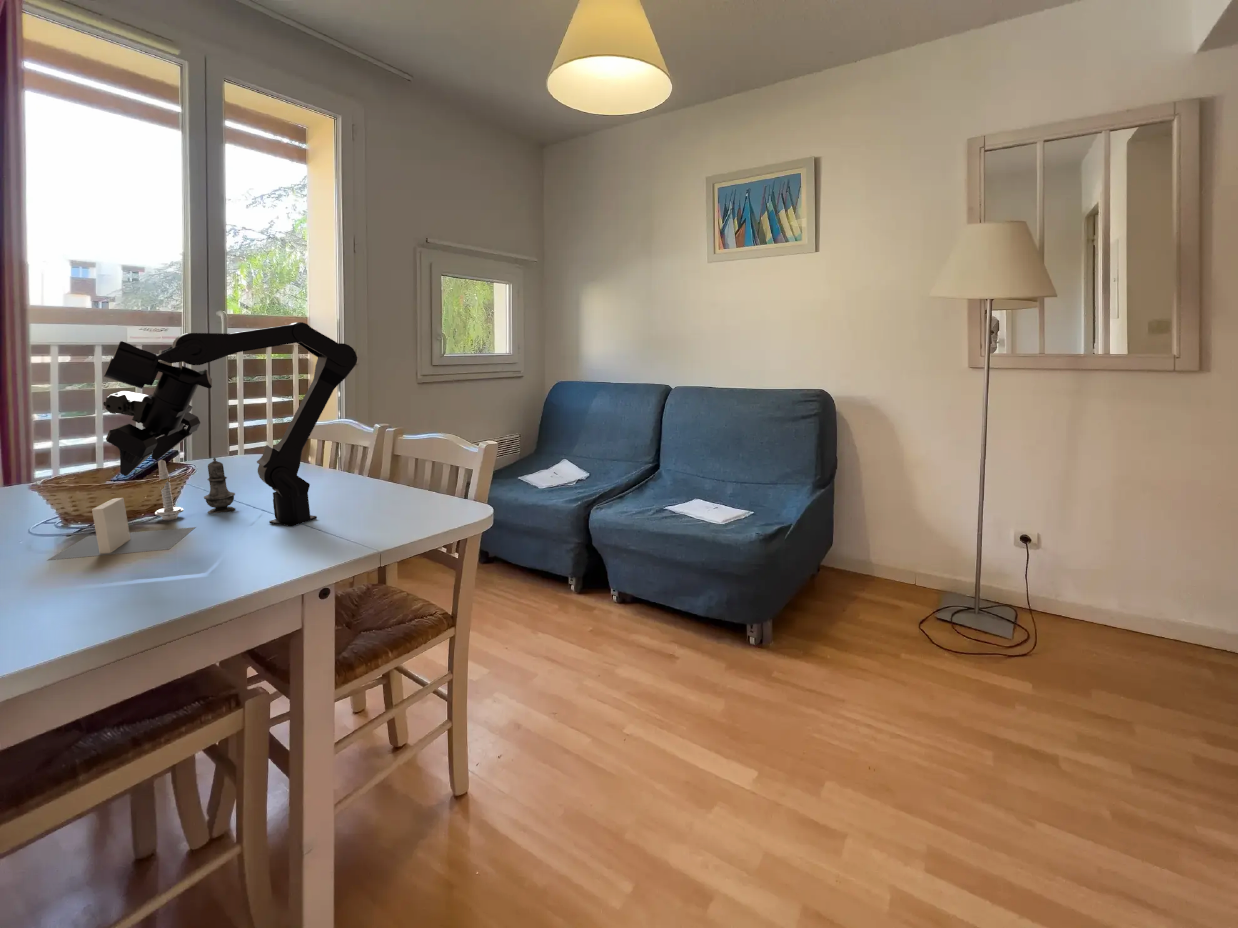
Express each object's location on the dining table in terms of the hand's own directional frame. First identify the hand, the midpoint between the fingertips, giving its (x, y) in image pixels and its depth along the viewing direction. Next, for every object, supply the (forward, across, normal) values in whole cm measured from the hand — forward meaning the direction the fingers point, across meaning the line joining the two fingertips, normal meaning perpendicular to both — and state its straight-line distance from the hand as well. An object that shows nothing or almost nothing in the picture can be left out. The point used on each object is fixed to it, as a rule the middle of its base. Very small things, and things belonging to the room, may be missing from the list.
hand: (139, 466), depth 120 cm
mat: (+12, +6, +6) cm, 15 cm away
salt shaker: (+11, -16, +12) cm, 23 cm away
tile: (+11, +9, +5) cm, 15 cm away
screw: (+14, -10, +6) cm, 18 cm away
